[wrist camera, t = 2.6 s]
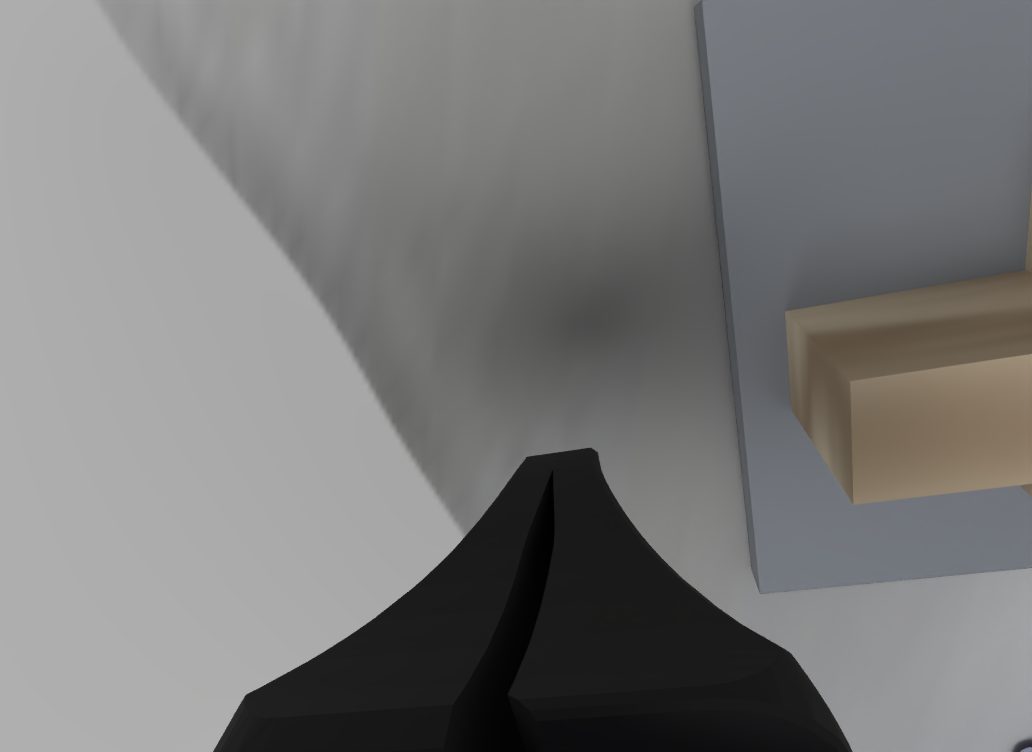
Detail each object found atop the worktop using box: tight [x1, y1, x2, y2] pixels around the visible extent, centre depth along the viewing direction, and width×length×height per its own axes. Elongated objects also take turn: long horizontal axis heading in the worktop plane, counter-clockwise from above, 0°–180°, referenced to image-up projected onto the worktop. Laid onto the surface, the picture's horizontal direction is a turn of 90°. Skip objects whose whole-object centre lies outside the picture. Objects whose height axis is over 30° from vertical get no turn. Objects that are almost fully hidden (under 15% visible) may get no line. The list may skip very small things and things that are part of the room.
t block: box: [785, 191, 1032, 505], centre depth 13 cm, size 8×8×4 cm
